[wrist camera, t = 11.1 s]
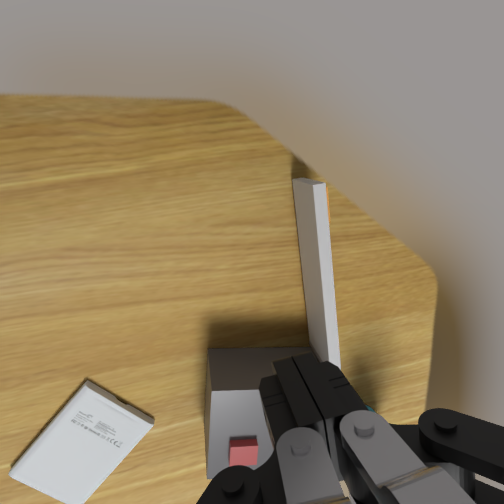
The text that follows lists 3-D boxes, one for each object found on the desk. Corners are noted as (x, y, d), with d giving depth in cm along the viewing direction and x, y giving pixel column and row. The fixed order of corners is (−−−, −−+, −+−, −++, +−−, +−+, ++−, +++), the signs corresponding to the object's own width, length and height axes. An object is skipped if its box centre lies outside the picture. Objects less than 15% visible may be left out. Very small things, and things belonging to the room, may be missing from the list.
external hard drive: (14, 462, 38) (88, 376, 37) (83, 496, 41) (155, 416, 39) (6, 475, 37) (84, 386, 36) (79, 510, 39) (154, 427, 38)
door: (291, 179, 34) (311, 185, 28) (309, 176, 34) (333, 181, 29) (309, 348, 39) (330, 382, 33) (325, 345, 39) (348, 378, 34)
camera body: (204, 424, 40) (207, 487, 33) (207, 348, 38) (212, 397, 30) (322, 418, 42) (351, 475, 35) (333, 346, 40) (365, 391, 33)
